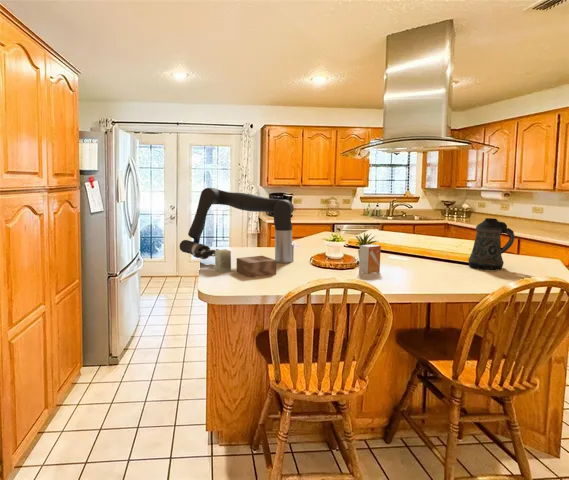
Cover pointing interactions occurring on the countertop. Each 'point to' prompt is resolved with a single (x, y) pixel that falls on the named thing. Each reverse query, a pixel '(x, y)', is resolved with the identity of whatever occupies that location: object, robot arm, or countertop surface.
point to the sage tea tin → (223, 260)
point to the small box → (369, 258)
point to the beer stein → (489, 245)
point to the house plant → (364, 242)
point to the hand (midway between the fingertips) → (213, 255)
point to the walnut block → (256, 266)
